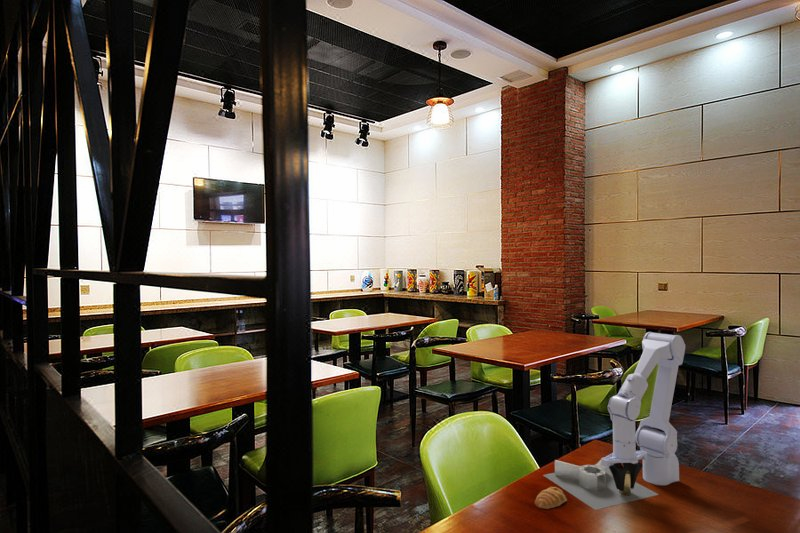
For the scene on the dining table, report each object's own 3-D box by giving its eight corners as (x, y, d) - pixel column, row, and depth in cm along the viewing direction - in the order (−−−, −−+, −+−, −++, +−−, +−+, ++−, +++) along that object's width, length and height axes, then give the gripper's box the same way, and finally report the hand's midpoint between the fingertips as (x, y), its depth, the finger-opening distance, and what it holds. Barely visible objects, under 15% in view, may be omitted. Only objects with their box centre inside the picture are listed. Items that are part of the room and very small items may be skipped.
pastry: (550, 516, 123) (549, 502, 123) (527, 507, 128) (527, 493, 128) (568, 504, 129) (568, 490, 129) (546, 495, 134) (546, 482, 134)
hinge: (595, 466, 149) (594, 452, 149) (628, 484, 137) (627, 469, 137) (554, 474, 144) (553, 460, 144) (584, 494, 132) (584, 478, 132)
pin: (624, 489, 134) (624, 468, 134) (633, 494, 131) (633, 473, 131) (616, 491, 133) (616, 470, 133) (625, 496, 130) (624, 475, 130)
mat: (600, 466, 152) (600, 463, 152) (658, 498, 131) (658, 494, 131) (542, 478, 144) (542, 475, 144) (595, 513, 124) (595, 509, 124)
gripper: (614, 448, 126) (615, 499, 126) (656, 440, 131) (656, 489, 131) (595, 439, 132) (596, 488, 132) (635, 432, 137) (636, 479, 137)
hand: (624, 488), depth 132 cm, fingers closed on pin, 3 cm apart
